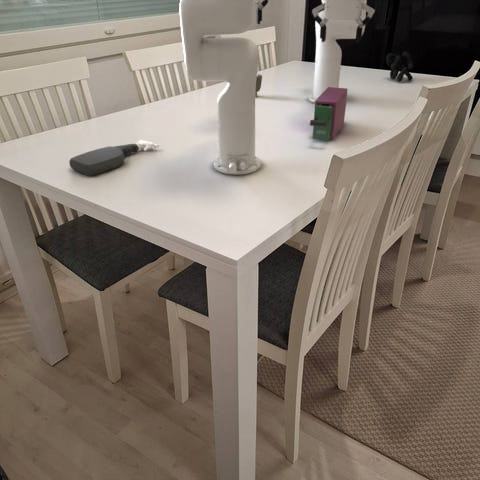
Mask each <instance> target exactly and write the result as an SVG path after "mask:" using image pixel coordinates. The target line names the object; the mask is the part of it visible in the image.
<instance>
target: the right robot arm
mask: <svg viewBox="0 0 480 480" xmlns="http://www.w3.org/2000/svg"><path fill="white" fill-rule="evenodd" d="M367 2H368V1H367V0H321V4H320V5H318V6H316V7H315V8H313V9H312V10H311V13H312V15H313V17H314V20H315V22H314V23H315V25H314V27H315V58H314V73H313V74H314V75H313V87H312V88H313V90H312V94H310V95H309V96H308V101H309V102H311V103H314V104H315V100H316V99H317V98H318V97H319V96H320V95H321V94H322V93H323V92H324V91H325V90H326V89H327V88H328V87H334V88H340V86H339V85H340V75H341V65H342V57H343V55H342V54H343V52H342V49H341V46H340V45H339V44H338V42H337V40H352V39H353V40H355V41H354V43H355V44H358V43H359V41H361V40H362V36H363V35H364V33H365V28H366V25H367V24H368V23H369V22H370V20H371V19H372V18H373V15H374V14H375V12H376V10H375V9H374V8H373V7H370V6H369V5H367Z"/></svg>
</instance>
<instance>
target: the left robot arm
mask: <svg viewBox="0 0 480 480" xmlns="http://www.w3.org/2000/svg"><path fill="white" fill-rule="evenodd" d="M269 1H270V0H262V2H261V0H179V22H180V30H181V31H180V32H181V40H182V48H183V59H184V64H185V70H186V74H187V76H188V77H189V78H190V79H191V80H192V81H196V82H225V83H226V85H225V86H224V87H223V88H222V90H221V91H220V92H219V94H218V96H217V100H216V110H217V111H216V112H217V133H218V135H217V136H218V137H217V138H218V157H216V158H215V159H214V160H213V167H214V169H215V170H216V171H217V172H219V173H222V174H226V175H233V176H234V175H238V176H239V175H247V174H252V173H254V172H256V171H258V170H259V169H260V168H261V166H262V161H261V159H260V158H259V157H258V156H256V96H255V92H256V78H257V76H258V70H259V63H260V61H259V60H260V50H259V47H258V44H257V43H256V42H255V41H254V40H252V39H249V38H246V37H238V36H235V37H234V36H231V37H229V36H228V37H225V36H224V37H223V36H221V37H204V36H210V35H211V36H212V35H214V36H215V35H239V34H243V33H246V32H247V31H249V30H250V29H251V26H252V22H253V12H254V11H253V10H254V8H253V5H255V6H256V8H257V9H255V11H256V14H255V15H256V18H255V19H256V20H255V21H256V24H257V25H261V22H262V21H263V10H264V8H265V7H266V6H267V4H269Z"/></svg>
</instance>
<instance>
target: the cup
mask: <svg viewBox="0 0 480 480" xmlns="http://www.w3.org/2000/svg"><path fill="white" fill-rule="evenodd" d="M262 80H263V74H260V73H257V78H256V92H255V97H257V96H258V92H260V91H261V87H262V82H263V81H262Z"/></svg>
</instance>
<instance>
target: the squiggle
mask: <svg viewBox="0 0 480 480" xmlns="http://www.w3.org/2000/svg"><path fill="white" fill-rule="evenodd" d="M401 57H402V59H401ZM391 59H392V60H391ZM393 60H394V61H393ZM385 61H386V64H387V67H390V68H391V70H390V72H389V78H390V79H391V80H395V79H396V81H397V82H399V83H400V82H402V81H403V79H404V76H406V78H407V80H408V81H412V80H413V79H414V77H413V75H412V74H411V73H410V72H409V71H410V70H412V69H413V68H414V64H413V61H412V57H411V54H410V53H409V52H408V51H403V53H402V54H401V55H396V54H394V53H392V52H390V53H387V55H386V57H385ZM406 62H407V65H408V66H407V67H405V66H404V65H405V64H406ZM400 70H401V71H400Z"/></svg>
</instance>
